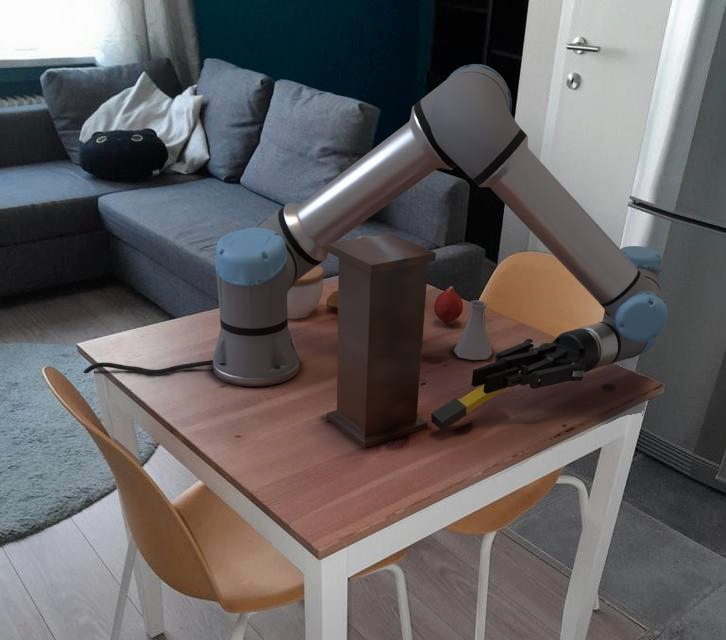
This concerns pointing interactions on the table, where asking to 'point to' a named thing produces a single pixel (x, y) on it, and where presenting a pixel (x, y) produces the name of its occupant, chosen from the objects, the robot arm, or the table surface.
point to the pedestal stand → (379, 336)
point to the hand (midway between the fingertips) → (480, 381)
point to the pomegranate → (448, 306)
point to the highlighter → (460, 407)
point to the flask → (474, 335)
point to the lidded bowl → (305, 294)
